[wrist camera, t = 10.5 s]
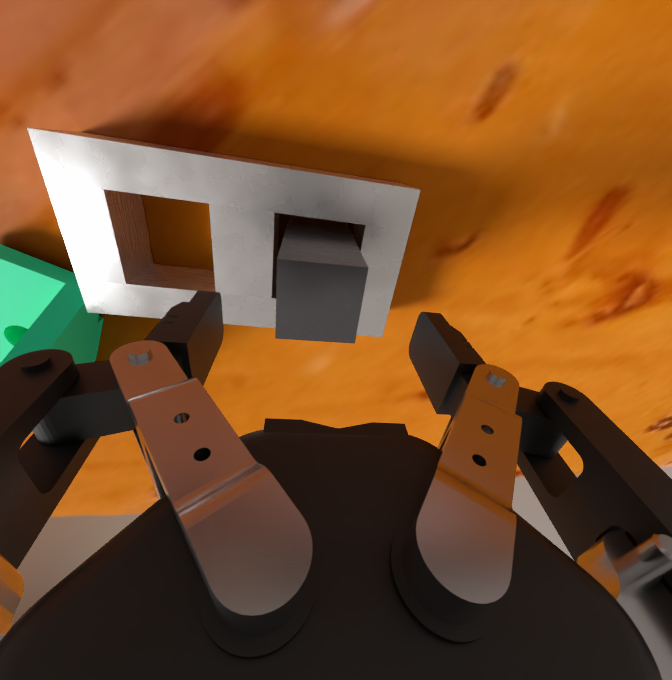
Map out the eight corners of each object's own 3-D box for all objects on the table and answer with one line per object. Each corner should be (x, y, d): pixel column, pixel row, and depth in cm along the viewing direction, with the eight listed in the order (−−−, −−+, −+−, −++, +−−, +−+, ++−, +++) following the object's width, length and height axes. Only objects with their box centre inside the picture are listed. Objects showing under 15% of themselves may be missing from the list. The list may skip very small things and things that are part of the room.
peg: (289, 215, 21) (276, 258, 13) (345, 221, 22) (368, 267, 13) (287, 270, 23) (275, 338, 15) (338, 274, 24) (354, 343, 15)
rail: (80, 131, 18) (27, 127, 14) (402, 183, 21) (420, 189, 17) (119, 288, 23) (87, 312, 20) (372, 312, 26) (382, 337, 22)
